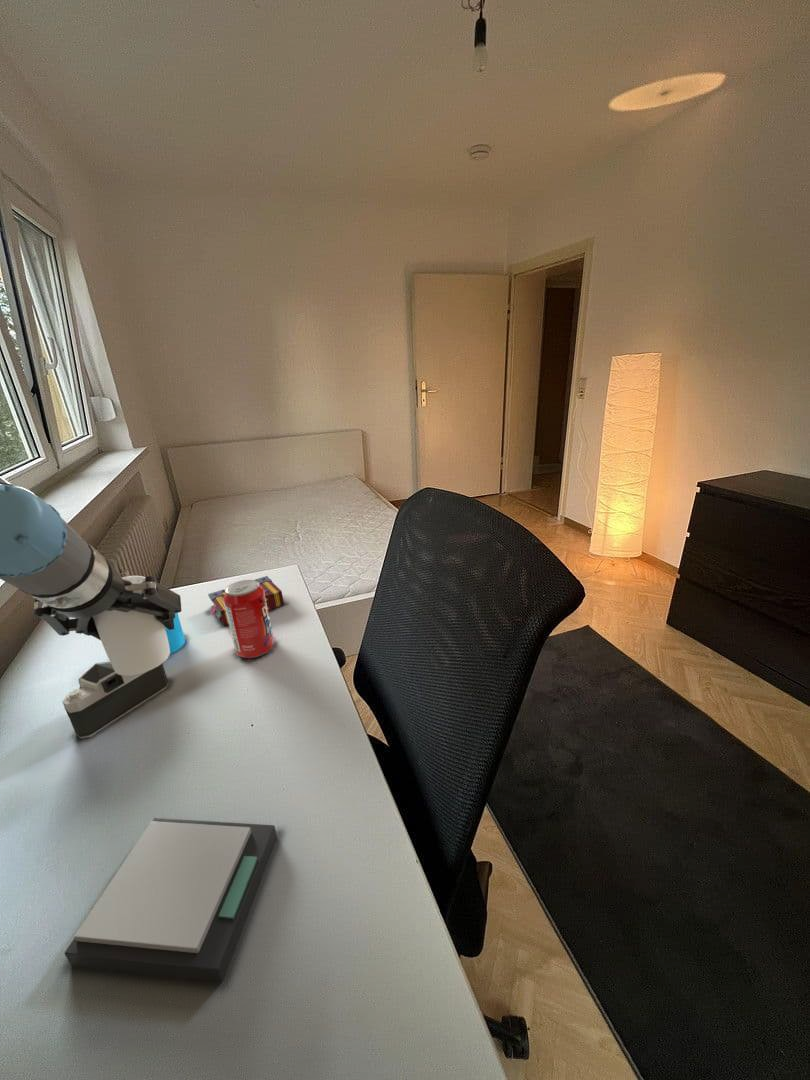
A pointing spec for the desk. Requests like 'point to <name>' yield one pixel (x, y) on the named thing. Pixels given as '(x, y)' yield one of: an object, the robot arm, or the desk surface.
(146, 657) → the cup
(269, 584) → the decorative book
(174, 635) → the mug
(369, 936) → the desk surface
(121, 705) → the camera
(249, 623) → the soda can
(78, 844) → the desk surface
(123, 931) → the scale
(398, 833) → the desk surface
